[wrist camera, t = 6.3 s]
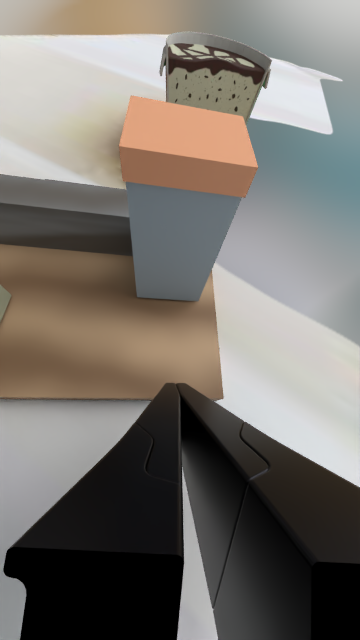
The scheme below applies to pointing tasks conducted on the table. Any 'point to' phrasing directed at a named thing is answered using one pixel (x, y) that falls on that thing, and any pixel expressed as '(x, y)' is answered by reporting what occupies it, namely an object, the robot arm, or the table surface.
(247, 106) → the food container
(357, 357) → the table surface
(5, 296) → the tall green block
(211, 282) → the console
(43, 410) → the table surface
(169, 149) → the orange-capped grey pillar
